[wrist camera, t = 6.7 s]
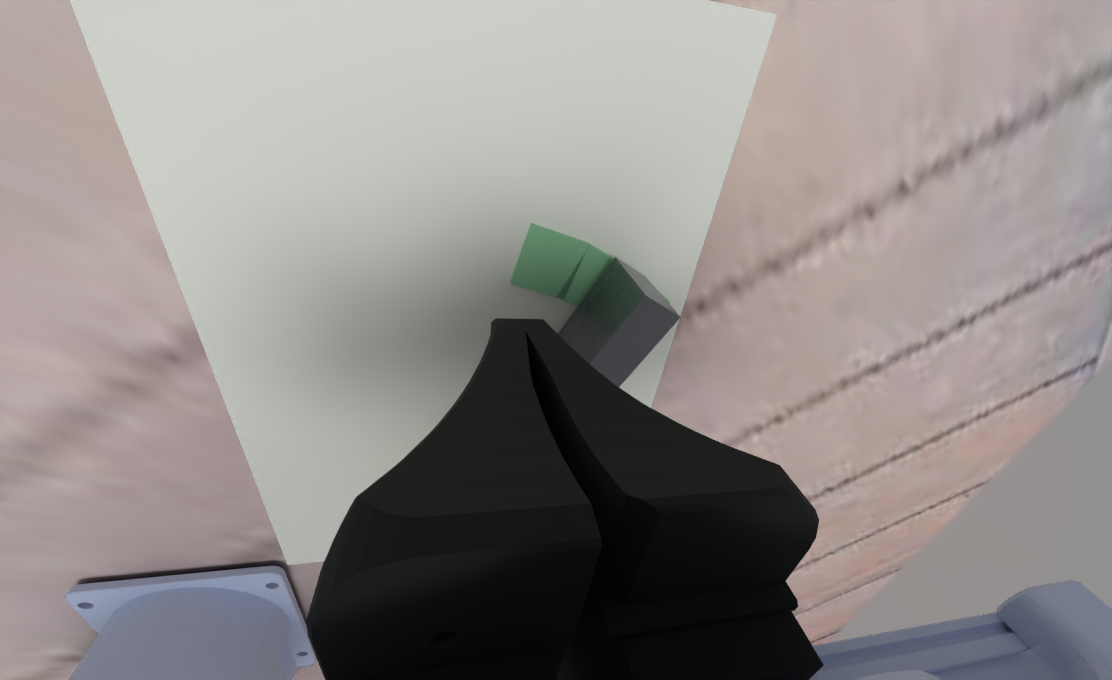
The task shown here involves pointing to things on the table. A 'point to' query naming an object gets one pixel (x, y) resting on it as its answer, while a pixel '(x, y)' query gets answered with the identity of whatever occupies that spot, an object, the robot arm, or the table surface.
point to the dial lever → (619, 322)
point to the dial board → (410, 196)
